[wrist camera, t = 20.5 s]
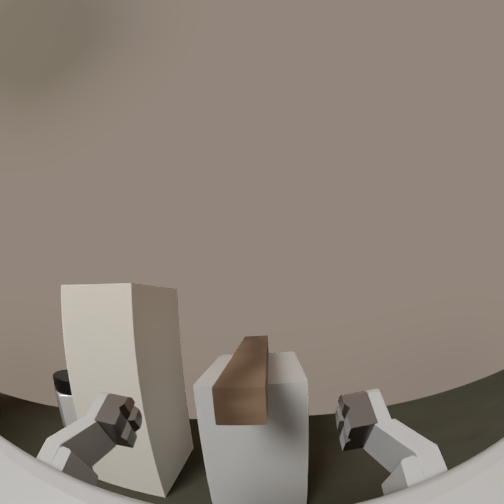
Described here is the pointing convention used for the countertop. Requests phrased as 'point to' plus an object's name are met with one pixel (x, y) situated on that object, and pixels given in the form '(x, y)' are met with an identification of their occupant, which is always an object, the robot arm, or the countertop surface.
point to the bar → (243, 385)
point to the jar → (64, 397)
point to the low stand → (258, 439)
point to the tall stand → (131, 375)
